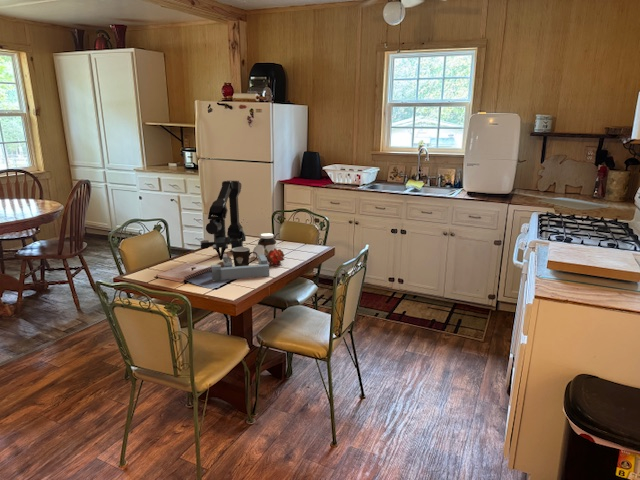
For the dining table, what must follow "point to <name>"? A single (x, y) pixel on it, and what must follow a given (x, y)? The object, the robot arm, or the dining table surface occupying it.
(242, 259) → the coffee mug
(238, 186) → the robot arm
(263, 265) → the vise
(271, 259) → the dragon fruit
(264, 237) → the spread jar
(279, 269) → the dining table surface
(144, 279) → the dining table surface
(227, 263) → the sliding jaw
